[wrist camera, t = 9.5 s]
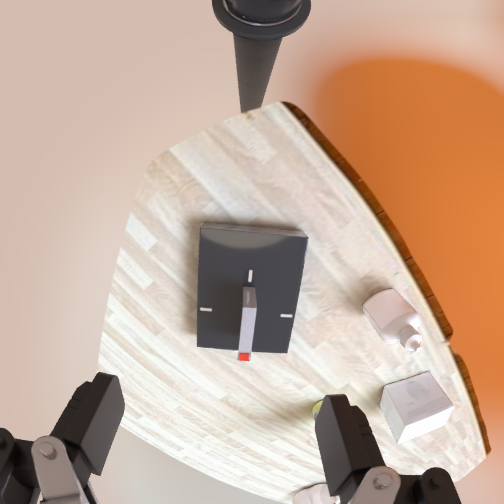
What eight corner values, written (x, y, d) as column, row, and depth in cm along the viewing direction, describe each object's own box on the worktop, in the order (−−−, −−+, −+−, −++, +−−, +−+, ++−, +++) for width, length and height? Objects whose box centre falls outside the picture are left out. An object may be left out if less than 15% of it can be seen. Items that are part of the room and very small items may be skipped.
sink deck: (203, 221, 34) (199, 227, 31) (303, 230, 35) (308, 237, 32) (199, 334, 39) (196, 347, 36) (284, 340, 39) (287, 354, 36)
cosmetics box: (378, 406, 46) (396, 446, 36) (383, 384, 44) (405, 425, 34) (423, 392, 45) (444, 426, 35) (430, 370, 43) (455, 405, 33)
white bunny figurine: (296, 522, 50) (343, 510, 45) (280, 507, 52) (328, 494, 47) (306, 501, 58) (350, 488, 53) (292, 486, 60) (336, 472, 56)
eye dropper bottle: (365, 287, 37) (405, 335, 26) (398, 287, 37) (442, 331, 26) (359, 315, 39) (392, 367, 27) (391, 314, 39) (430, 361, 27)
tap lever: (243, 286, 33) (242, 308, 28) (255, 287, 33) (256, 309, 28) (238, 335, 35) (237, 361, 30) (249, 336, 36) (250, 362, 31)
